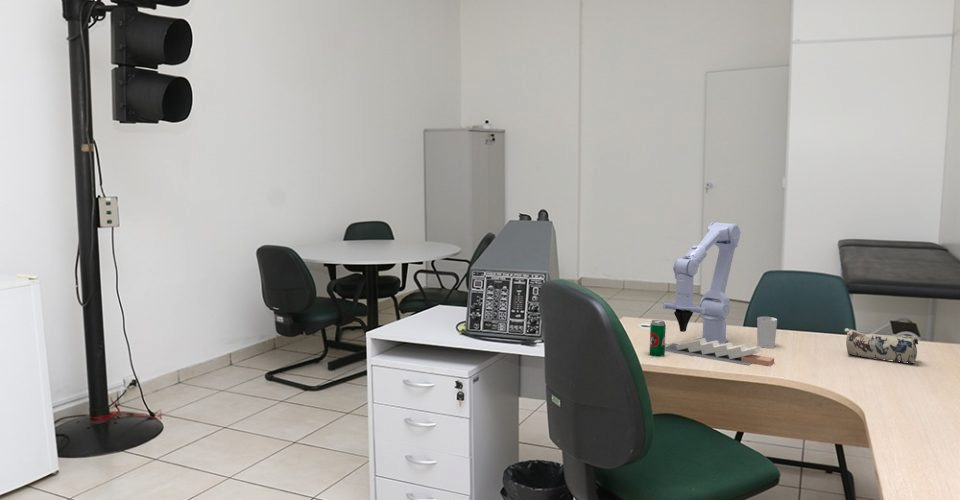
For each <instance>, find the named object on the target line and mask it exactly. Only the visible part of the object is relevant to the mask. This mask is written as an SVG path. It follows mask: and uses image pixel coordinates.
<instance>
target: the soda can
mask: <svg viewBox="0 0 960 500" xmlns="http://www.w3.org/2000/svg"><path fill="white" fill-rule="evenodd" d="M649 328H650V329H649V355H650V356H653V357H664V356H665V355H666V354H665V352H666V351H665V347H666V323H665V321H664V320H661V319H654V320H651V321H650V326H649Z"/></svg>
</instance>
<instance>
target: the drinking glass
mask: <svg viewBox="0 0 960 500" xmlns="http://www.w3.org/2000/svg"><path fill="white" fill-rule="evenodd" d="M756 320H757V321H756V323H757V324H756V325H757V333H756V334H757V337H756V338H757V340H756V341H757V342H756V343H757V345H756V346H759V347H760V348H766V349H773V348H775V346H776V345H775V344H776V335H777V328H778V327H777V325H778V319H777V318H775V317H772V316H771V317H770V316H758V317H757V319H756Z"/></svg>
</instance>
